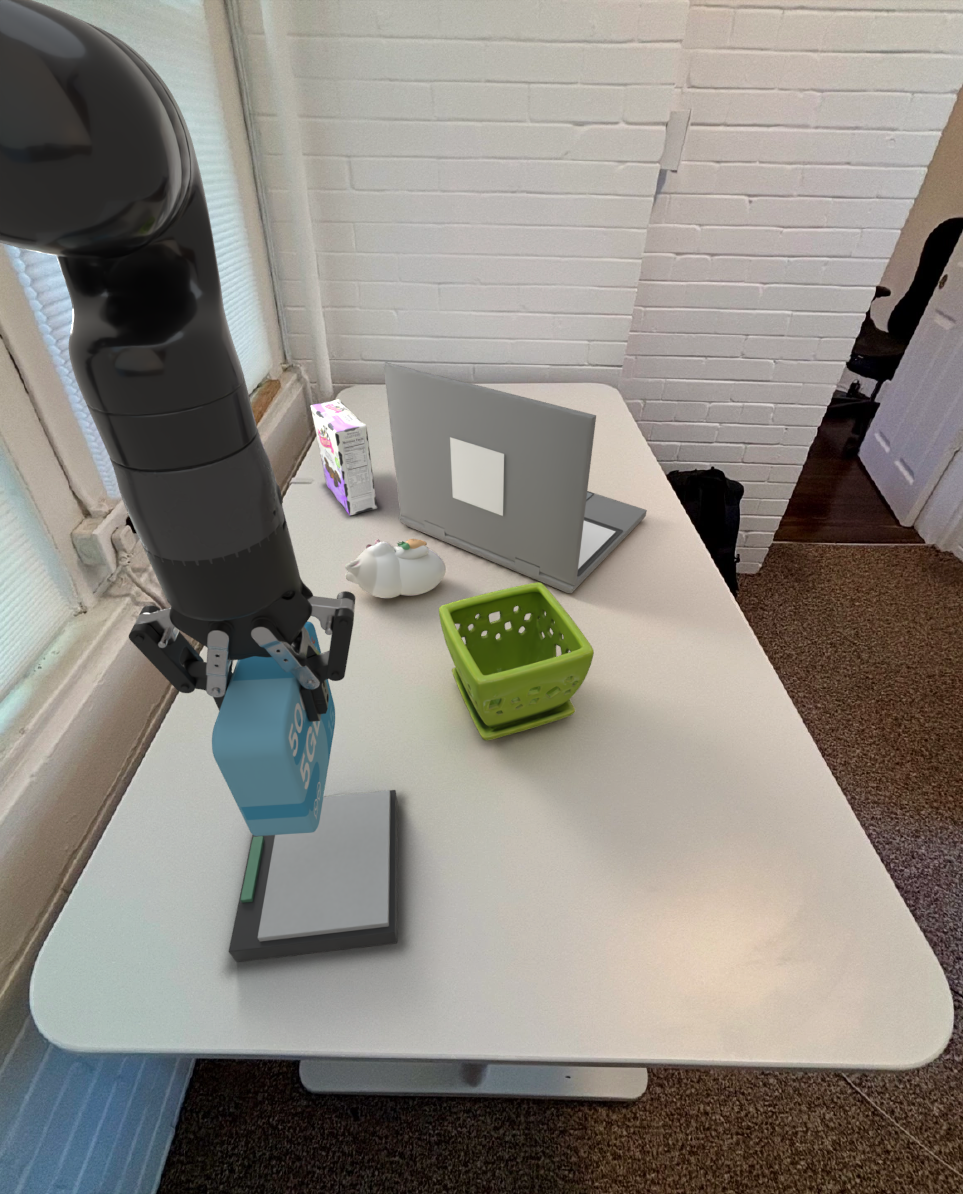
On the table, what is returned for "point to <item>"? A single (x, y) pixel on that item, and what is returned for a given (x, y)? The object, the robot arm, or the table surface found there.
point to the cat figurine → (396, 569)
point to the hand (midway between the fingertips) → (280, 714)
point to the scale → (322, 883)
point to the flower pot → (515, 658)
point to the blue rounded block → (273, 747)
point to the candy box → (345, 456)
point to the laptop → (501, 477)
